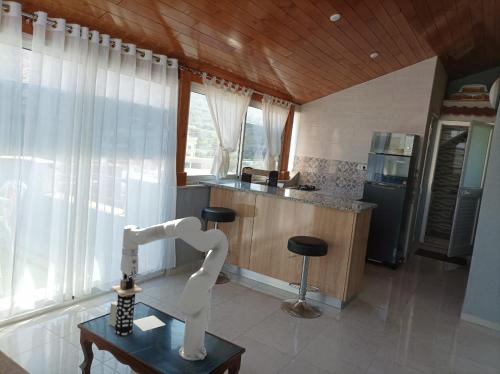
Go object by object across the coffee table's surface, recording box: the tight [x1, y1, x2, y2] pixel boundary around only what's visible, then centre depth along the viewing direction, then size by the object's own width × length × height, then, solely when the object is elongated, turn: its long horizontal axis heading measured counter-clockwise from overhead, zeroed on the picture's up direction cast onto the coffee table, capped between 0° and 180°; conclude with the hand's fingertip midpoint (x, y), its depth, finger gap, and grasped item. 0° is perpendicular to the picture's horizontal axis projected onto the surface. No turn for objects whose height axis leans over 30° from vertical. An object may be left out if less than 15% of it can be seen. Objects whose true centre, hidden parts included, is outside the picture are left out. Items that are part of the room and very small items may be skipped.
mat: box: [133, 315, 166, 332], centre depth 191 cm, size 13×13×1 cm
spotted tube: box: [114, 294, 136, 337], centre depth 178 cm, size 8×8×20 cm
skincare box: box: [108, 300, 117, 328], centre depth 187 cm, size 6×4×12 cm
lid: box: [111, 278, 144, 297], centre depth 177 cm, size 11×11×6 cm
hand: (127, 286), depth 177 cm, fingers closed on lid, 2 cm apart
